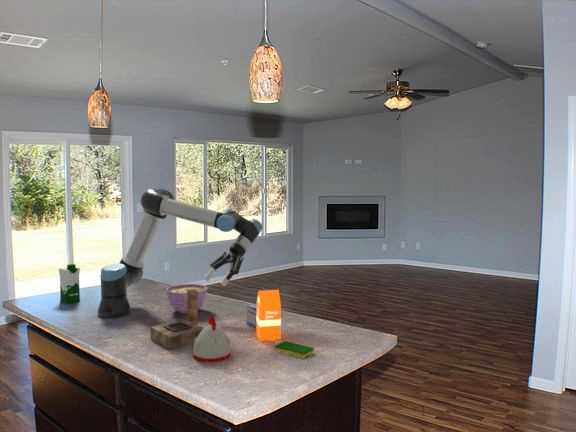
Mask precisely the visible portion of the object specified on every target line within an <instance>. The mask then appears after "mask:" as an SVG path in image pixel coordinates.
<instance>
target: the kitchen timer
mask: <svg viewBox="0 0 576 432" xmlns="http://www.w3.org/2000/svg"><path fill="white" fill-rule="evenodd" d="M207 322H208V325H206V326H205V327H203V328H204V329H203V330H202V331H201V332H200V334H199V335H198V337H197V338H195V342H194V343H193V352H192V356H193V359H194V360H195V361H197V362H199V363H205V364H206V363H207V364H209V363H210V364H211V363H212V362H215V363H220V361H221V362H224V361H226V360H228V359H230V357H231V355H232V348H231V340H230V336H227V334H226V332H225V331H224V330H223V329H222V327H220V326H219V325H217V323H216V319H215V317H214V316H213V315H210V316H209V319H208V321H207ZM223 360H224V361H223Z"/></svg>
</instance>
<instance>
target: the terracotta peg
mask: <svg viewBox="0 0 576 432" xmlns="http://www.w3.org/2000/svg"><path fill="white" fill-rule="evenodd" d="M198 310H199V309H197V290H188V291H187V313H186V314H187V320H188V321H190V322H192V323H194V324H197V325H198V322H199V321H198V317H199V316H198V315H199V314H198Z"/></svg>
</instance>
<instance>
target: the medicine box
mask: <svg viewBox="0 0 576 432" xmlns="http://www.w3.org/2000/svg"><path fill="white" fill-rule="evenodd" d="M256 320H257V304H250V305H247V306H246V325H247V326H250V327H253V328H256V329H257V321H256Z"/></svg>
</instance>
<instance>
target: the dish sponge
mask: <svg viewBox="0 0 576 432" xmlns="http://www.w3.org/2000/svg"><path fill="white" fill-rule="evenodd" d="M275 350H277V351H276V352H278V351H280V352H279V353H281V352H285V353H288V354H287V355H289V354H292V355H291V356H293V355H296V356H300V357H306V356H308V355H310V354H311V355H313V354H314V353H315V352H314V351H315V349H314V347H312V346H308V345H305V344H304V345H303V344H299V343H296V342H292V341H287V340H283V341H282V342H279V343H277V344H275V345H274V351H275ZM313 352H314V353H313ZM285 353H284V354H285ZM312 353H313V354H312ZM311 355H310V356H311ZM296 356H295V357H296ZM300 357H299V358H300ZM308 357H309V356H308ZM306 358H307V357H306Z"/></svg>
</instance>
